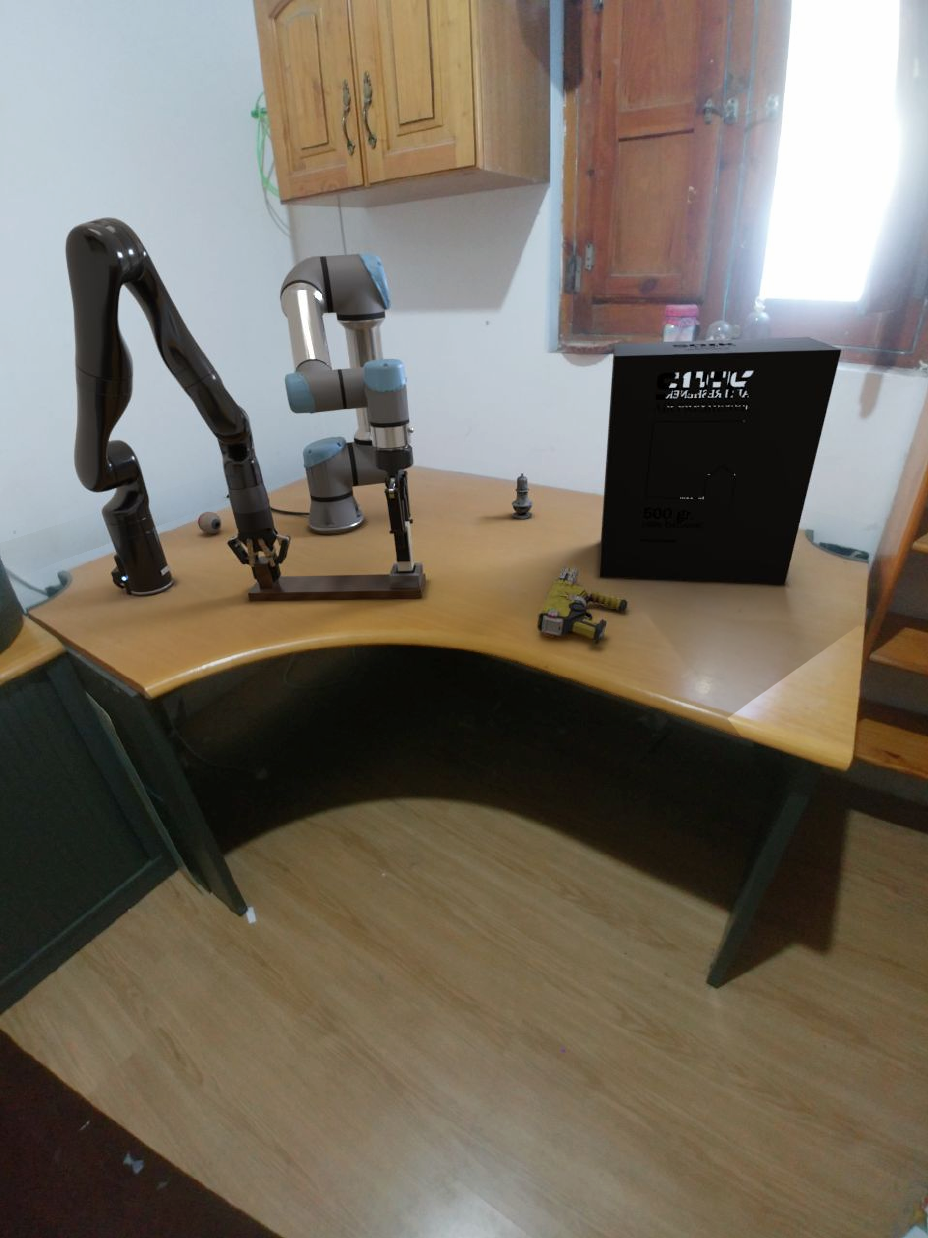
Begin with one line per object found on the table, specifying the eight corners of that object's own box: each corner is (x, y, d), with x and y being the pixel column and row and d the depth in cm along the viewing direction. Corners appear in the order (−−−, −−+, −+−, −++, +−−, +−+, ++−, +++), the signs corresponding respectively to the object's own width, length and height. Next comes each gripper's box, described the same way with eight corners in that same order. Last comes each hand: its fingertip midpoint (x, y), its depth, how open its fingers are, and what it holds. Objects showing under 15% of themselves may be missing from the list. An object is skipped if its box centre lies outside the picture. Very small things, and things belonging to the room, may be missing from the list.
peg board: (249, 601, 132) (241, 568, 128) (262, 584, 139) (254, 552, 135) (421, 598, 129) (418, 564, 125) (426, 581, 136) (422, 548, 132)
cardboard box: (763, 546, 142) (808, 336, 120) (784, 584, 125) (841, 349, 103) (600, 540, 150) (614, 343, 127) (599, 576, 133) (614, 355, 110)
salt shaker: (531, 519, 165) (531, 476, 159) (510, 518, 166) (509, 476, 160) (533, 511, 170) (534, 469, 164) (513, 511, 171) (512, 469, 165)
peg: (398, 571, 129) (393, 526, 124) (400, 565, 131) (395, 521, 126) (412, 570, 128) (407, 526, 123) (414, 564, 131) (409, 521, 126)
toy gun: (633, 576, 125) (562, 563, 129) (620, 630, 105) (537, 613, 109) (629, 596, 128) (560, 583, 132) (616, 653, 108) (534, 635, 111)
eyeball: (211, 538, 165) (205, 517, 162) (196, 534, 168) (190, 514, 165) (229, 530, 169) (223, 510, 166) (214, 527, 172) (209, 507, 169)
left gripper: (210, 512, 122) (231, 588, 131) (277, 510, 121) (294, 587, 130) (225, 500, 129) (244, 573, 137) (289, 498, 127) (304, 572, 136)
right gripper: (405, 456, 110) (417, 573, 121) (417, 435, 123) (426, 542, 135) (365, 457, 110) (380, 573, 122) (381, 437, 124) (393, 543, 136)
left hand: (268, 579), depth 133 cm, fingers closed on peg board, 3 cm apart
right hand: (404, 557), depth 128 cm, fingers closed on peg, 3 cm apart
